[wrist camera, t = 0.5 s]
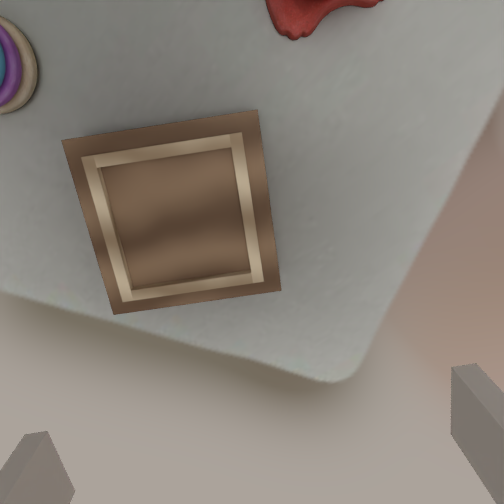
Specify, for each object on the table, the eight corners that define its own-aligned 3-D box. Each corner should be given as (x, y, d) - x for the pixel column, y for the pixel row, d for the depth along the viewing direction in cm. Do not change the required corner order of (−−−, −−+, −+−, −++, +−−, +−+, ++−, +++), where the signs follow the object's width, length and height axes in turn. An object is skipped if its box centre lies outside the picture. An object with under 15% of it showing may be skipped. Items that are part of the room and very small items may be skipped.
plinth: (85, 137, 35) (56, 140, 30) (255, 111, 35) (257, 109, 29) (128, 292, 41) (110, 318, 35) (276, 270, 40) (282, 294, 35)
